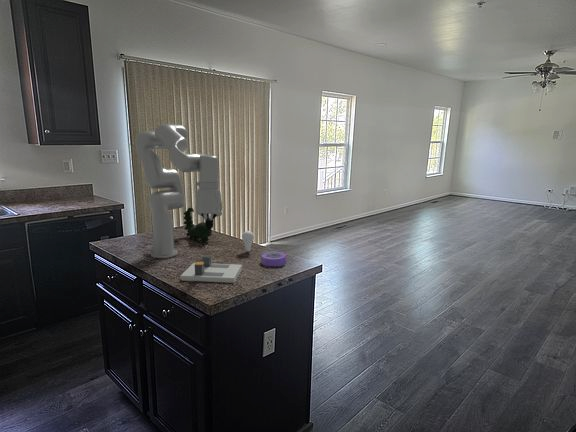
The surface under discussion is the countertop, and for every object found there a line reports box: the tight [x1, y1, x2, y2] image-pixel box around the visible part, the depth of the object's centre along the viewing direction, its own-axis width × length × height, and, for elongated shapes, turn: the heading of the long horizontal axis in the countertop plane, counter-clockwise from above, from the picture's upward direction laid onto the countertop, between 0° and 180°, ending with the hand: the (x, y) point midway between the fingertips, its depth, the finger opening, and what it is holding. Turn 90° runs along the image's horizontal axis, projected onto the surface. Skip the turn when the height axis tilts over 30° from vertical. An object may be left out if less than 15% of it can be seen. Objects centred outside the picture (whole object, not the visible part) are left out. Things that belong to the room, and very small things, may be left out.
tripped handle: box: [194, 261, 204, 275], centre depth 148 cm, size 3×3×4 cm
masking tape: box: [260, 251, 287, 268], centre depth 170 cm, size 12×12×4 cm
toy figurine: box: [183, 207, 213, 244], centre depth 204 cm, size 9×19×25 cm
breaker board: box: [180, 262, 243, 284], centre depth 154 cm, size 22×16×2 cm
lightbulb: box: [241, 230, 255, 253], centre depth 185 cm, size 6×6×11 cm
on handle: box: [201, 254, 212, 266], centre depth 158 cm, size 3×3×4 cm
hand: (209, 228), depth 153 cm, fingers closed
